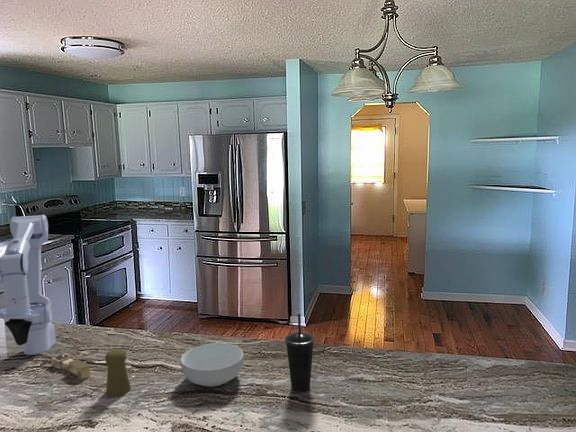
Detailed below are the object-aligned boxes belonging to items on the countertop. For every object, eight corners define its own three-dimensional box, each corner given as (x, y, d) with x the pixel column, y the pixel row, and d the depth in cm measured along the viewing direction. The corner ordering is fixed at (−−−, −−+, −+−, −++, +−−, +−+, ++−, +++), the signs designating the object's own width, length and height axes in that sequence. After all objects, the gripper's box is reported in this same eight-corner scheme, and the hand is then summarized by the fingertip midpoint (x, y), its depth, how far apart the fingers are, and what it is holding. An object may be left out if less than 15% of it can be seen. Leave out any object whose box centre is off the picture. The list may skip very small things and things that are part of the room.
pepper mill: (122, 397, 113) (119, 357, 111) (101, 395, 114) (97, 355, 112) (135, 385, 119) (132, 346, 117) (115, 383, 120) (111, 345, 118)
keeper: (90, 380, 122) (89, 365, 121) (82, 383, 120) (80, 368, 119) (78, 373, 126) (77, 358, 125) (70, 376, 124) (68, 362, 123)
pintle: (61, 366, 130) (60, 354, 130) (67, 366, 130) (66, 354, 130) (58, 369, 128) (56, 356, 128) (64, 369, 128) (62, 356, 128)
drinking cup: (318, 382, 118) (317, 310, 115) (310, 397, 111) (309, 321, 108) (291, 378, 120) (289, 308, 118) (282, 392, 113) (280, 318, 110)
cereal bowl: (255, 371, 125) (254, 347, 124) (223, 401, 110) (221, 375, 109) (205, 360, 132) (204, 338, 131) (169, 388, 117) (167, 363, 116)
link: (51, 366, 128) (50, 358, 128) (65, 360, 132) (64, 352, 132) (75, 376, 122) (74, 368, 122) (89, 370, 125) (88, 362, 125)
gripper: (-16, 298, 120) (-10, 345, 122) (21, 304, 115) (26, 353, 117) (9, 291, 127) (14, 335, 129) (45, 296, 121) (50, 342, 123)
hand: (22, 343), depth 123 cm, fingers closed
